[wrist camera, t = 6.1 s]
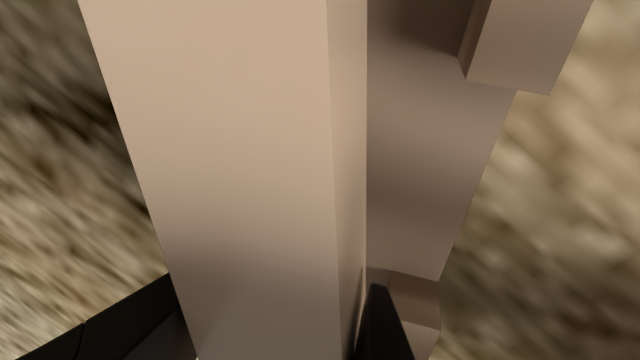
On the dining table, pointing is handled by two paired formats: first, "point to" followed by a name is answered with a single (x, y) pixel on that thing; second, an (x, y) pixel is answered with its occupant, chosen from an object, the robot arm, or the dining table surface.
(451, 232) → the tabbed beige plate
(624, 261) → the dining table surface
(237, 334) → the clay strip
